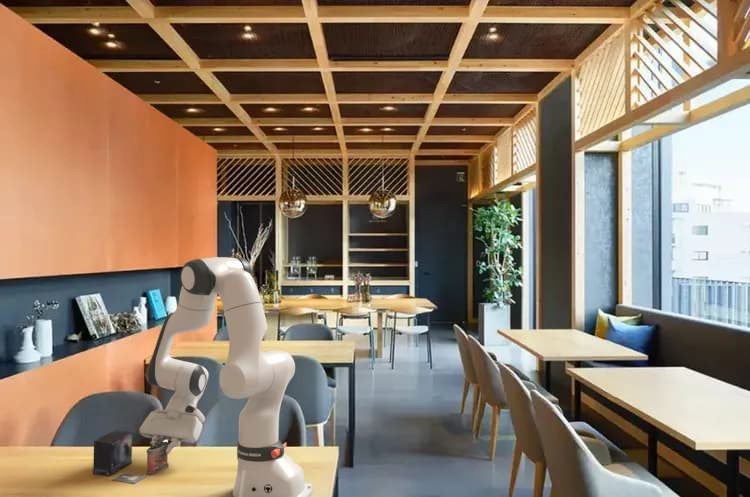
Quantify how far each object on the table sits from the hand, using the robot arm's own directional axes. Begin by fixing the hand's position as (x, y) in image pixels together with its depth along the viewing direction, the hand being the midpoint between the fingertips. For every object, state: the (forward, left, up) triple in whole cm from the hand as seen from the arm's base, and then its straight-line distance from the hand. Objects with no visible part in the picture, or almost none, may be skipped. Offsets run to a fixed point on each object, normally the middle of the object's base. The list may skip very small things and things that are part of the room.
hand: (159, 452), depth 168 cm
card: (+4, +8, -5) cm, 11 cm away
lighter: (0, +1, -6) cm, 6 cm away
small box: (+14, +4, -6) cm, 16 cm away
